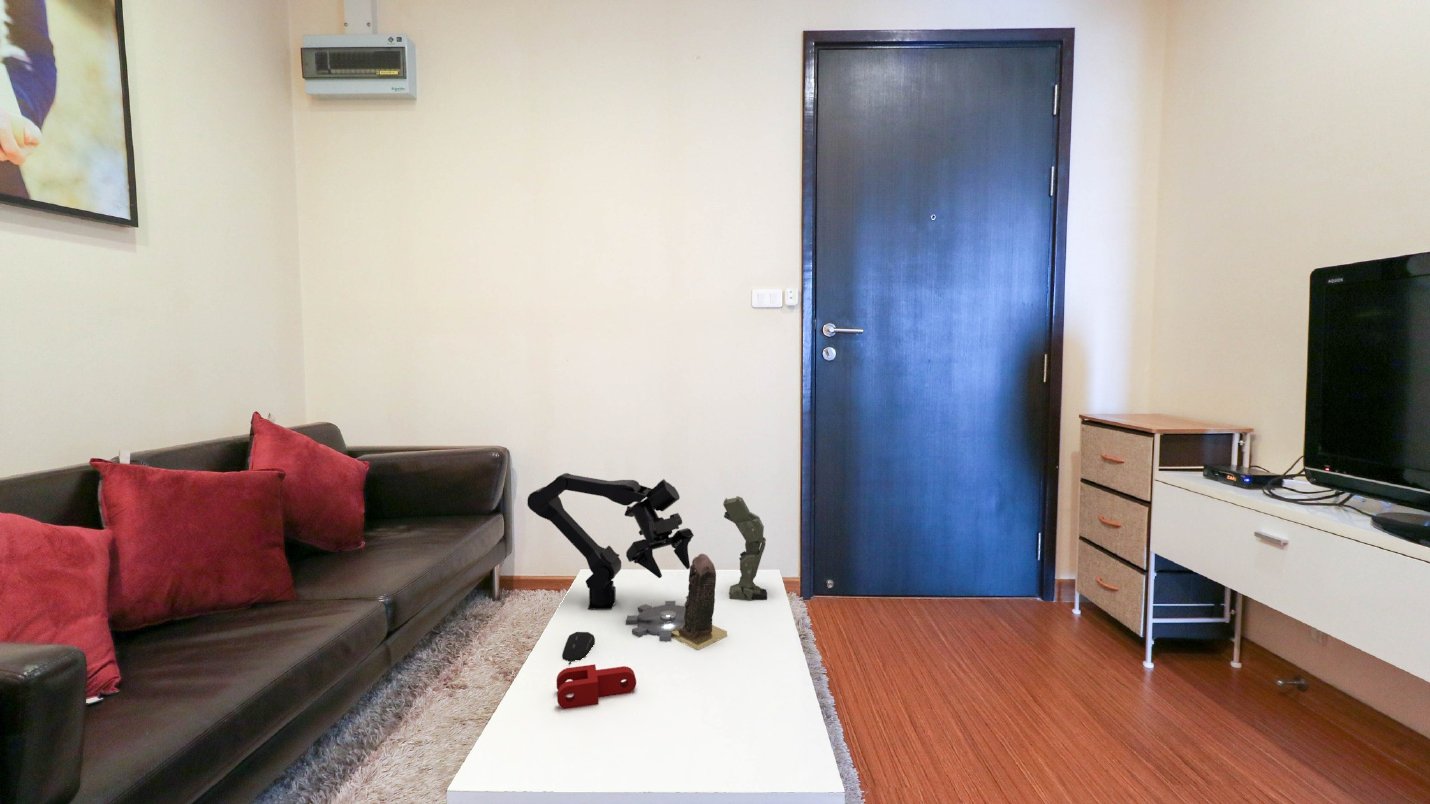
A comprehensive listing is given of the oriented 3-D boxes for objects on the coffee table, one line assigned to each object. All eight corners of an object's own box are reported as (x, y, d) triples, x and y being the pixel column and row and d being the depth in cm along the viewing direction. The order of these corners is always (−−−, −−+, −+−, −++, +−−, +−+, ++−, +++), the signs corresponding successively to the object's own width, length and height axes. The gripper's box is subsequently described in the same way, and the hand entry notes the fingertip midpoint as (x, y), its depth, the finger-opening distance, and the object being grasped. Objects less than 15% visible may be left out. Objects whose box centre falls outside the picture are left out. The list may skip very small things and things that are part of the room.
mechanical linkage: (557, 711, 125) (557, 687, 125) (556, 692, 132) (556, 669, 132) (638, 699, 129) (637, 676, 129) (633, 681, 136) (633, 659, 136)
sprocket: (609, 622, 164) (609, 614, 164) (671, 598, 179) (671, 591, 179) (679, 658, 145) (679, 649, 145) (742, 628, 161) (742, 620, 160)
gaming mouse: (553, 669, 142) (552, 652, 141) (572, 638, 156) (572, 623, 156) (581, 670, 141) (580, 653, 141) (598, 639, 156) (597, 624, 155)
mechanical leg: (779, 589, 184) (755, 489, 182) (779, 599, 177) (754, 495, 175) (733, 598, 186) (709, 500, 184) (731, 608, 178) (706, 506, 176)
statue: (696, 624, 160) (696, 547, 158) (717, 633, 155) (717, 554, 153) (677, 633, 155) (676, 554, 153) (698, 643, 150) (697, 561, 148)
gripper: (632, 511, 158) (659, 565, 151) (689, 498, 171) (717, 548, 164) (614, 534, 165) (640, 588, 158) (671, 521, 177) (697, 569, 170)
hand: (675, 572), depth 162 cm, fingers open, 9 cm apart
